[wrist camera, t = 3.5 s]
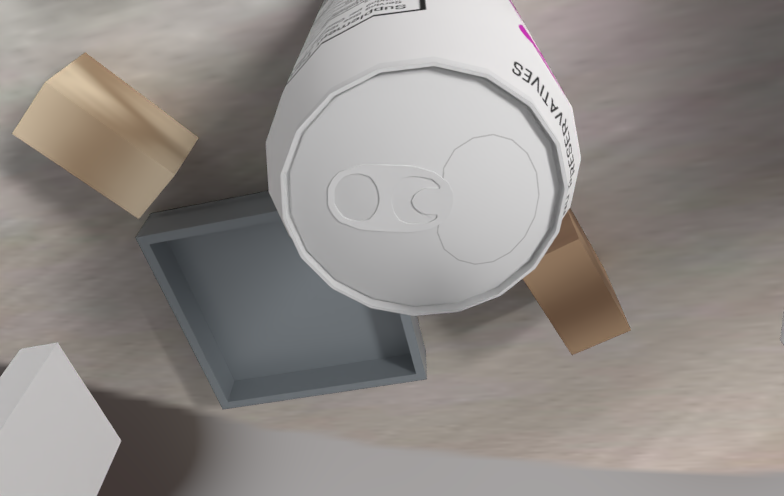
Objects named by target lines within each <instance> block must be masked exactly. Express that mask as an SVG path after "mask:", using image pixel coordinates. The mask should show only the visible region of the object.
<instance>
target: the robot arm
mask: <svg viewBox="0 0 784 496" xmlns="http://www.w3.org/2000/svg"><path fill="white" fill-rule="evenodd" d="M780 341H781V343H782V344H783V345H784V313H783V321H782V329H781V337H780ZM120 442H121V439H120V438H119V436H118V435H117V433H116V432H115V430H114V429H113V427H112V426H111V424H110V423H109V421H108V419H107V418H106V416H105V415H104V413H103V412H102V411H101V409H100V407H99V406H98V404H97V402H96V401H95V399H94V398H93V396H92V395H91V393H90V392H89V390H88V389H87V387H86V386H85V384H84V382H83V381H82V379H81V378H80V376H79V375H78V373H77V372H76V370H75V369H74V367H73V366H72V364H71V362H70V361H69V359H68V358H67V356H66V355H65V353H64V352H63V350H62V349H61V347H60V345H59V344H58V342H57V343H52V344H46V345H40V346H34V347H29V348H23V349H20V350H19V352H18V353H17V354H16V356H15V357H14V359H13V360H12V361H11V363H10V364H9V366H8V367H7V368H6V370H5V371H4V373H3V374H2V375H1V377H0V496H97V494H98V492H99V490H100V487H101V485H102V482H103V480H104V478H105V476H106V474H107V472H108V469H109V467H110V465H111V463H112V460H113V458H114V456H115V454H116V451H117V449H118V447H119V445H120Z"/></svg>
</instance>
